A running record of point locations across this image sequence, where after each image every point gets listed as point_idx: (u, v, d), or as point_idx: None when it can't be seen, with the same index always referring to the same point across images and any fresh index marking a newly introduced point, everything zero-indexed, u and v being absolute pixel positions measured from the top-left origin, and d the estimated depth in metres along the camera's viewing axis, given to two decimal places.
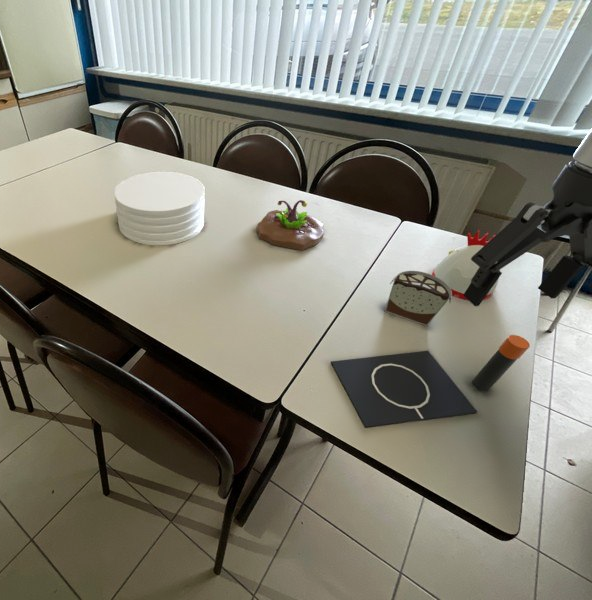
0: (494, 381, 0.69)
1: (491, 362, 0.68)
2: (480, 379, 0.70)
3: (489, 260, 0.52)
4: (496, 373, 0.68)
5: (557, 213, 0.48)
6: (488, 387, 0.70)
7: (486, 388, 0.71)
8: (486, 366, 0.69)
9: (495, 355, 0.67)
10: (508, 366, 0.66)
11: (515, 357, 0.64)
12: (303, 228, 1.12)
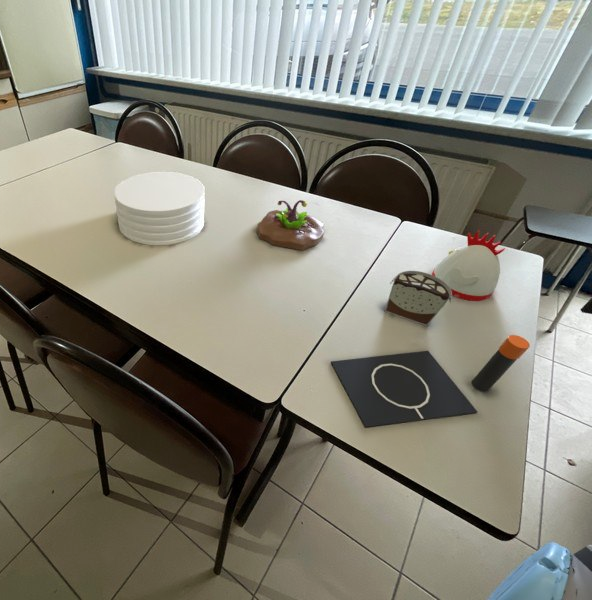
0: (494, 381, 0.69)
1: (491, 362, 0.68)
2: (480, 379, 0.70)
3: None
4: (496, 373, 0.68)
5: None
6: (488, 387, 0.70)
7: (486, 388, 0.71)
8: (486, 366, 0.69)
9: (495, 355, 0.67)
10: (508, 366, 0.66)
11: (515, 357, 0.64)
12: (303, 228, 1.12)
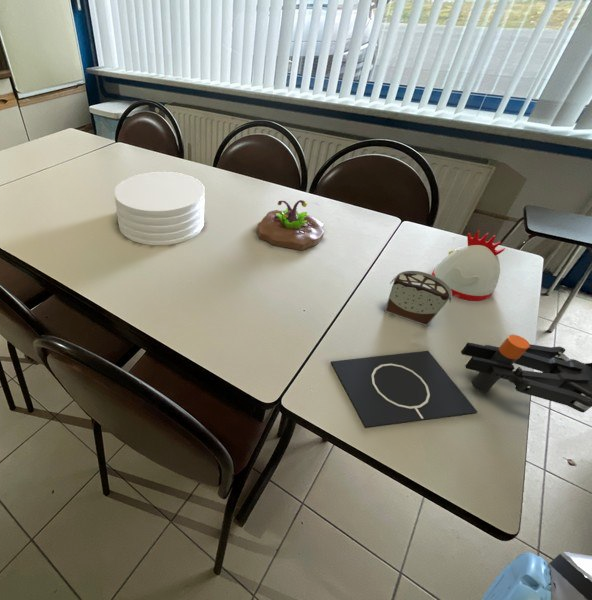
0: (494, 381, 0.69)
1: None
2: (480, 379, 0.70)
3: None
4: None
5: (575, 360, 0.67)
6: (488, 387, 0.70)
7: (486, 388, 0.71)
8: None
9: (495, 355, 0.67)
10: None
11: (515, 357, 0.64)
12: (303, 228, 1.12)
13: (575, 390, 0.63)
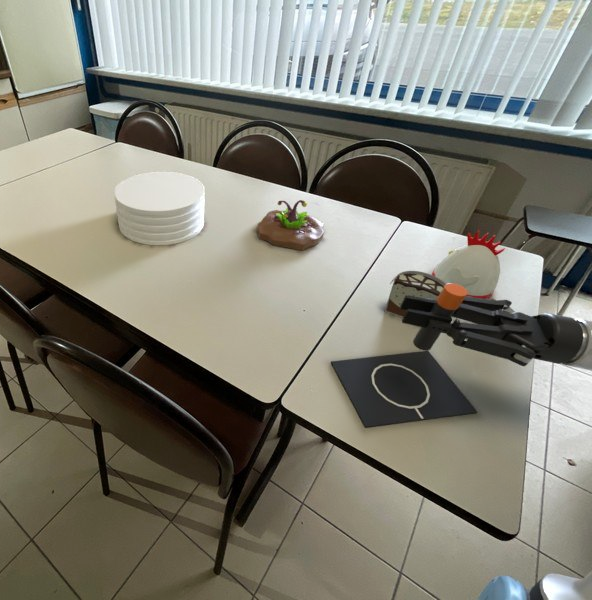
0: (434, 337, 0.63)
1: None
2: (420, 336, 0.64)
3: None
4: None
5: (522, 313, 0.61)
6: (429, 345, 0.64)
7: (427, 346, 0.64)
8: None
9: (433, 307, 0.61)
10: None
11: (452, 307, 0.58)
12: (303, 228, 1.12)
13: (517, 343, 0.57)
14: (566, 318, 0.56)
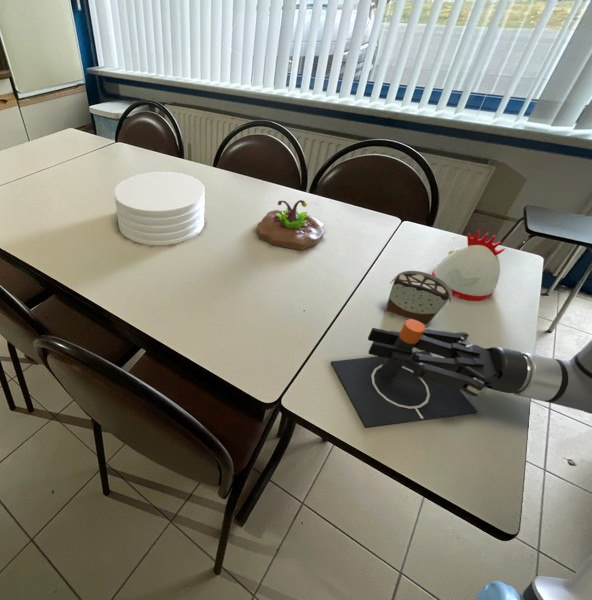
0: (398, 367, 0.69)
1: None
2: (386, 365, 0.70)
3: None
4: None
5: (477, 345, 0.66)
6: (394, 373, 0.70)
7: (392, 374, 0.70)
8: None
9: (396, 340, 0.67)
10: None
11: (412, 341, 0.64)
12: (303, 228, 1.12)
13: (470, 374, 0.63)
14: (513, 352, 0.62)
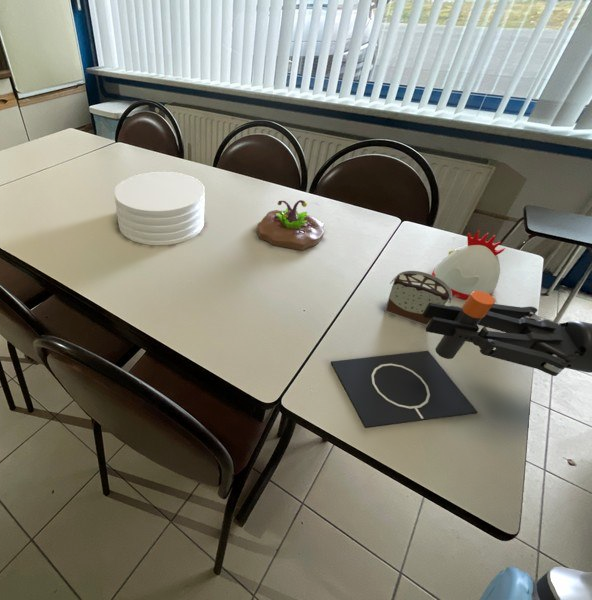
0: (458, 346, 0.61)
1: None
2: (444, 344, 0.63)
3: None
4: None
5: (548, 320, 0.59)
6: (452, 353, 0.63)
7: (450, 354, 0.63)
8: None
9: (458, 315, 0.59)
10: None
11: (479, 315, 0.57)
12: (303, 228, 1.12)
13: (546, 352, 0.55)
14: None
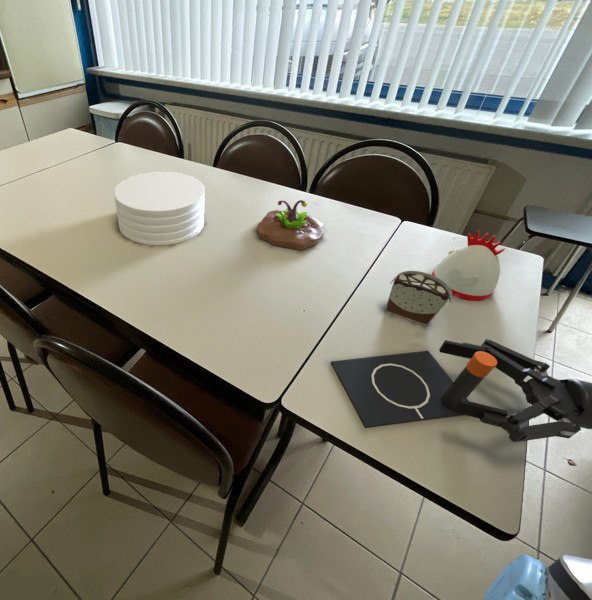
0: (462, 399, 0.66)
1: (459, 379, 0.64)
2: (449, 396, 0.67)
3: (494, 342, 0.69)
4: (464, 390, 0.64)
5: (549, 376, 0.63)
6: None
7: None
8: (454, 383, 0.66)
9: (463, 372, 0.64)
10: (476, 384, 0.63)
11: (482, 375, 0.61)
12: (303, 228, 1.12)
13: (547, 409, 0.59)
14: None
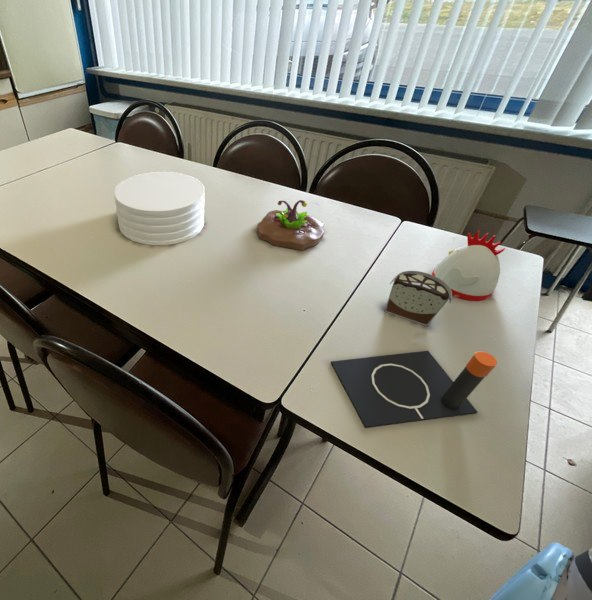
0: (462, 399, 0.66)
1: (459, 379, 0.64)
2: (449, 396, 0.67)
3: None
4: (464, 390, 0.64)
5: None
6: (457, 405, 0.67)
7: (455, 406, 0.67)
8: (454, 383, 0.66)
9: (463, 372, 0.64)
10: (476, 384, 0.63)
11: (482, 375, 0.61)
12: (303, 228, 1.12)
13: None
14: None
